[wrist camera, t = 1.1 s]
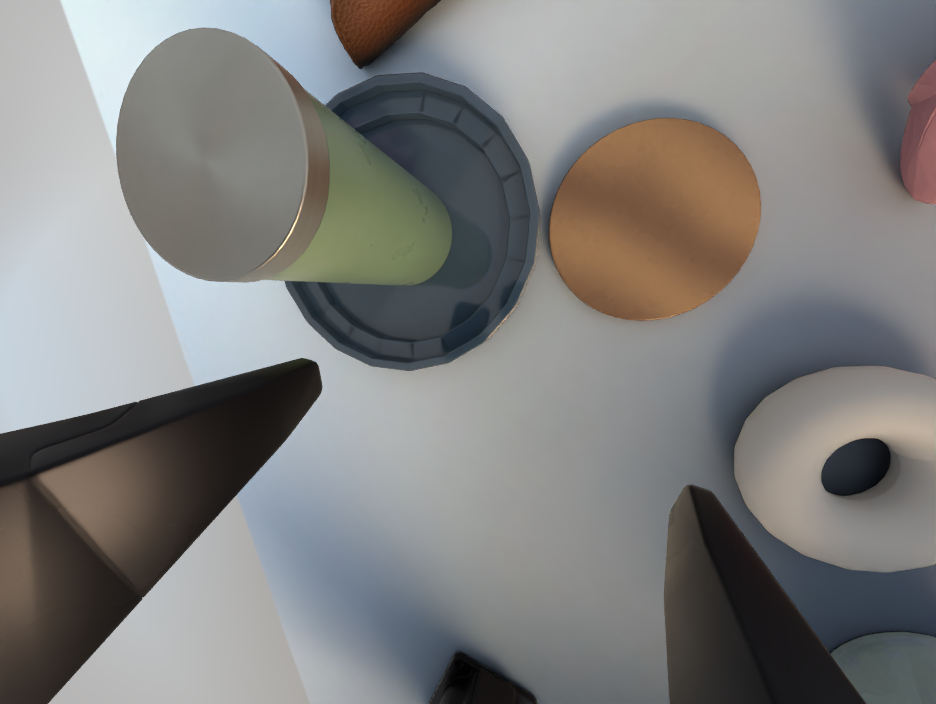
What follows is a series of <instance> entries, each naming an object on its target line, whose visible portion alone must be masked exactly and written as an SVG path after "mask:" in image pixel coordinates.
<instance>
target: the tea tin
mask: <svg viewBox="0 0 936 704" xmlns="http://www.w3.org/2000/svg"><path fill="white" fill-rule="evenodd" d="M116 156H117V166H118V173H119V178H120V183H121V188H122V191H123V194H124V198H125V201H126V204H127V206H128V209H129V211H130V214H131V216H132V218H133V220H134V222H135V223H136V225H137V227H138V229H139V230H140V232H141V234H142V235H143V237H144V238H145V240H146V241H147V242H148V243H149V244H150V246H151V247H152V248H153V249H154V250H155V251H156V252H157V253H158V254H159V255H160V256H161V257H162V258H163V259H164V260H165V261H167V262H168V263H169V264H171V265H172V266H173V267H175V268H177V269H178V270H180V271H182V272H184V273H186V274H188V275H191V276H193V277H196V278H199V279H203V280H207V281H218V282H255V281H260V280H280V281H304V282H329V283H353V284H378V285H402V286H408V285H415V284H419V283H421V282H424V281H426V280H427V279H429V278H430V277H432V276H433V275H434V274H435V273H436V272H437V271H438V270H439V269H440V268H441V267H442V265H443V264H444V262H445V260H446V258H447V256H448V254H449V251H450V247H451V242H452V226H451V221H450V217H449V214H448V211H447V209H446V207H445V206H444V204H443V202H442V201H441V200H440V199H439V197H438V196H437V195H436V194H435V193H433V192H432V191H431V190H430V189H429V188H427V187H426V186H425V185H424V184H422V183H421V182H420V181H419V180H417V179H416V178H415V177H414V176H412V175H411V174H410V173H409V172H407V171H406V170H405V169H404V168H402V167H401V166H400V165H399V164H397V163H396V162H395V161H394V160H392V159H391V158H390V157H389V156H387V155H386V154H385V153H384V152H382V151H381V150H380V149H379V148H377V147H376V146H375V145H374V144H372V143H371V142H370V141H369V140H367V139H366V138H365V137H364V136H362V135H361V134H360V133H359V132H357V131H356V130H355V129H354V128H352V127H351V126H350V125H349V124H347V123H346V122H345V121H344V120H342V119H341V118H340V117H339V116H337V115H336V114H335V113H334V112H332V111H331V110H330V109H329V108H327V107H326V106H325V105H324V104H322V103H321V102H320V101H319V100H317V99H316V98H315V97H314V96H312V95H311V94H310V93H309V92H307V91H306V90H305V89H304V88H303V87H302V86H301V85H300V84H299V82H298V81H297V80H296V79H295V78H294V77H293V76H292V75H291V74H290V73H289V72H288V71H287V70H286V69H285V68H284V67H282V66H281V65H280V64H279V63H278V62H276V61H275V60H274V59H273V58H271V57H270V56H269V55H268V54H267V53H265V52H264V51H263V50H262V49H260V48H259V47H258V46H257V45H255V44H253V43H252V42H250V41H249V40H247V39H246V38H244V37H242V36H239V35H237V34H235V33H232V32H229V31H225V30H221V29H216V28H196V29H189V30H186V31H183V32H180V33H177V34H175V35H173V36H171V37H169V38H168V39H166V40H164V41H163V42H162V43H160V44H159V45H158V46H156V47H155V48H154V49H153V50H152V51H151V52H150V53H149V54H148V55H147V56H146V57H145V59H144V60H143V61H142V63H141V64H140V66H139V67H138V68H137V70H136V72H135V74H134V75H133V77H132V79H131V81H130V83H129V85H128V88H127V90H126V93H125V95H124V98H123V102H122V105H121V109H120V114H119V120H118V125H117V138H116Z"/></svg>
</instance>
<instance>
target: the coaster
mask: <svg viewBox="0 0 936 704" xmlns="http://www.w3.org/2000/svg"><path fill="white" fill-rule="evenodd" d="M760 213H761V201H760V191H759V187H758V183H757V179H756V176H755V174H754V172H753V169H752V167H751V165H750V163H749V162H748V160H747V159H746V157H745V155H744V154H743V153H742V151H741V150H740V149H739V148H738V147H737V146H736V145H735V144H734V143H733V142H732V141H731V140H729V139H728V138H727V137H726V136H725V135H723V134H722V133H720V132H718V131H716V130H715V129H713V128H711V127H709V126H706V125H704V124H701V123H698V122H694V121H690V120H686V119H677V118H657V119H650V120H644V121H640V122H636V123H633V124H630V125H627V126H624V127H622V128H620V129H618V130H615V131H613V132H612V133H610V134H608V135H607V136H605V137H603V138H601V139H600V140H599V141H597V142H596V143H595V144H594V145H592V146H591V147H590V148H589V149H588V150H587V151H585V152H584V153H583V154H582V155H581V156H580V157H579V158H578V160H577V161H576V162H575V163H574V164H573V166H572V167H571V168H570V170H569V171H568V173H567V174H566V176H565V177H564V179H563V181H562V183H561V185H560V187H559V189H558V191H557V194H556V196H555V199H554V202H553V206H552V210H551V215H550V224H549V241H550V247H551V253H552V256H553V260H554V263H555V266H556V268H557V270H558V272H559V274H560V276H561V278H562V279H563V281H564V282H565V284H566V285H567V286H568V287H569V289H570V290H571V291H572V292H573V293H574V294H575V295H576V296H577V297H578V298H579V299H581V300H582V301H583V302H584V303H586V304H587V305H589V306H590V307H592V308H594V309H596V310H598V311H600V312H602V313H604V314H607V315H610V316H613V317H617V318H622V319H627V320H638V321H645V320H657V319H663V318H669V317H672V316H676V315H679V314H682V313H684V312H687V311H689V310H691V309H694V308H696V307H697V306H699V305H701V304H703V303H704V302H706V301H708V300H709V299H710V298H712V297H713V296H715V295H716V294H717V293H719V292H720V291H721V290H722V289H723V288H724V287H725V286H726V285H727V284H728V283H729V282H730V281H731V280H732V279H733V278H734V276H735V275H736V274H737V273H738V272H739V270H740V269H741V267H742V266H743V264H744V263H745V261H746V259H747V257H748V255H749V253H750V251H751V249H752V247H753V245H754V242H755V239H756V236H757V233H758V228H759V222H760Z"/></svg>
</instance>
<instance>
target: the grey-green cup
mask: <svg viewBox="0 0 936 704" xmlns="http://www.w3.org/2000/svg"><path fill="white" fill-rule="evenodd" d="M831 656H832V657H833V658H834V660H835V661H836V662H837V664H838V665H839V667H840V668H841V669H842V671H843V672H844V673H845V675H846V676H847V678H848V679H849V680H850V682H851V683H852V684H853V686H854V687H855V689H856V690H857V691H858V693H859V694H860V695H861V697H862V698H863V700H864V701H865V702H866V704H936V637H933V636H929V635H924V634H917V633H910V632H885V633H877V634H871V635H866V636H862V637H860V638H857V639H854V640H852V641H849V642H847V643H845V644H843V645H841V646H840V647H838V648H837V649H836V650H834V651H833V652H832V653H831Z"/></svg>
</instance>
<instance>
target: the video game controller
mask: <svg viewBox="0 0 936 704" xmlns="http://www.w3.org/2000/svg"><path fill="white" fill-rule="evenodd" d="M908 102H909V103H910V105H911V106H912V107H911V111H910V114H909V118H908V121H907V124H906V128H905V132H904V137H903V142H902V146H901V162H900V169H901V174H902V178H903V181H904V184H905V188H906V189H907V191H908V192H909V193H910V194H911V196H912V197H913V198H914V199H915V200H918V201H921V202H924V203H928V204H936V60H935V61H934V62H933V63H932V64H931V65H930V66H929V67H928V69H927V70H926V71H925V72H924V73H923V75H922V76H921V77H920V78H919V79H918V81H917V82H916V84H915V85H914V87H913V88H912V90H911V91H910V93H909V94H908Z"/></svg>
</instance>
